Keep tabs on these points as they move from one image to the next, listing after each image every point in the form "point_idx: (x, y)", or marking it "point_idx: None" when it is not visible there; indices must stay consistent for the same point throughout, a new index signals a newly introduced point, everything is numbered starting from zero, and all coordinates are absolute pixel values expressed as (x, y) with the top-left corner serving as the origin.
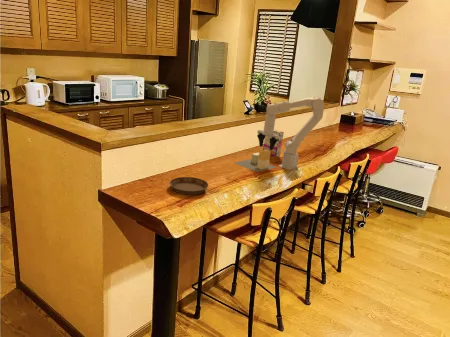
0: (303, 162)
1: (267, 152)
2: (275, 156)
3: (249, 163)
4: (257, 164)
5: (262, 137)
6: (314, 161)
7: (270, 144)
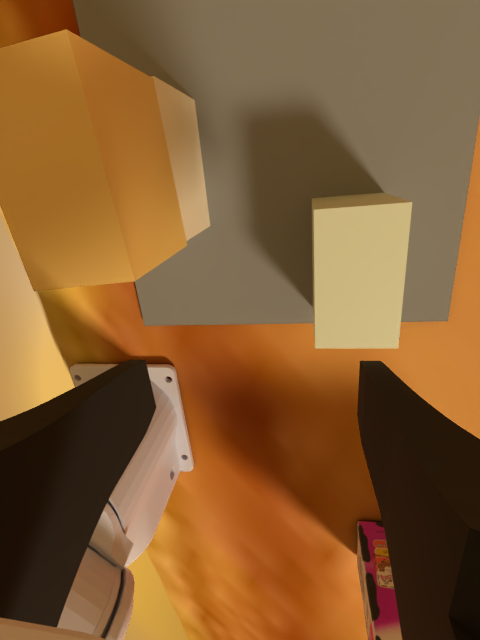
0: (187, 567)
1: (7, 188)
2: (362, 525)
3: (349, 121)
4: (180, 92)
5: (416, 576)
6: (181, 619)
7: (61, 406)
